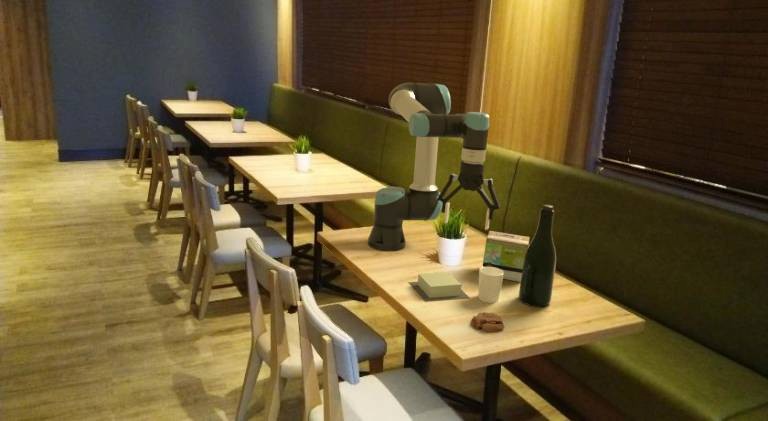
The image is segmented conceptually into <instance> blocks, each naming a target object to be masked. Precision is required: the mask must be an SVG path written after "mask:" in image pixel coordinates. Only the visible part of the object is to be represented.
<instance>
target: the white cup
mask: <svg viewBox="0 0 768 421" xmlns="http://www.w3.org/2000/svg"><path fill="white" fill-rule="evenodd" d="M503 275H504V272H503V271H502V270H501V269H499V268H495V267H483V266H482V267H480V268H479V270H478V284H477V285H478V287H477V288H478V294H477V298H478V300H480V301H482V302H484V303H489V304H490V303H491V304H493V303H497V302H499V298H500V293H501V289H502V285H503V281H504V279H503Z"/></svg>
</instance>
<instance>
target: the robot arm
mask: <svg viewBox="0 0 768 421" xmlns="http://www.w3.org/2000/svg"><path fill="white" fill-rule="evenodd" d="M451 101H452V100H451V95H450V91H449V89H448V87H447V86H446V85H444V84H441V83H440V84H438V83H428V82H427V83H425V82H424V83H423V82H422V83H421V82H405V83H401V84H399V85H397V86H395V87H394V88H393V89H392V90H391V92H390V93H389V96H388V105H389V108H390V109H391V110H392V112H394V114H396V115H399V116H402V117H403V119H404V120H406V121H407V122H408V131H409V134H410V136H412V137H416V141H415V142H416V143H415V144H416V145H415V153H414V154H415V156H414V170H413V182H412V183H411V184H410V185H409V186H408V190H407V191H406V190H405V188H404V187H401V186H386V187H382V188H380V189H378V190H377V191H376V193H375V199H374V211H373V224H372V226H373V227H372V228H371V231H370V233H369V235H368V239H367V245H368V246H369V247H370V248H372V249H375V250H379V251H387V252H390V251H391V252H393V251H400V250H403V249H404V248H405V247H406V237H405V233H404V228H403V222H404V221H425V222H426V221H435V220H436V219H438V218H439V216H440V213H441V212H442V213H444V220H443V224H447V223H448V222H449V217H450V216H449V215H450V206H451V205H450V204H451V202H449V201H450V200H451V199H452V198H453V197H454V196H456V194H457V193H458V192H460V190H462V189H463V190H464V191H471V192H475V191H476V192H477V193H478V195H480V197H481V199H482V200H483V202H484V203H485V204H486V207H488V208H487V210H486V215H485V223H484V225H485V226H484V230H485V231H487V230H489V228H490V220H493V218H494V214H495V210H499V209H500V208H501V204H500V200H499V198H498V195H497V193H496V190H495V187H494V179H493V178H489V179H488V178H484V173H485V163H484V162H486V155H487V144H488V138H489V136H488V135H489V130H490V129H489V128H490V115H489V113H485V112H481V111H480V112H479V111H477V112H476V111H469V112H466V113H456V114H450V112H451V107H452V105H451V104H452V102H451ZM439 138H446V139H447V138H449V139H462V148H461V157H460V159H461V162H460V168H459V174H458V175H457V174H455V173H454V172H452V173H451V174H450V175H449V177H448V181H447V182H446V184H445V185H444V186H443V189H442V190H441V192H440V191H439V187H438V186H437V185H436V173H437V161H438V151H439V150H438V149H439V148H438V147H439ZM457 180H458V182H459V184H458V186H457V187H455V189H453V191H451V192H450V193H449V194H448V195H447V196H446V194H447V192H448V191H449V189H450V188H451V186H452V184H453V183H454V182H456V181H457ZM483 184H485V186H487V189H488V191H489V194H490V197H491V199H490V197H489V196H488V194H487V193H486V191H485V190H484V188H483V186H482V185H483ZM445 196H446V197H445Z"/></svg>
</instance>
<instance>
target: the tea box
mask: <svg viewBox="0 0 768 421" xmlns="http://www.w3.org/2000/svg"><path fill="white" fill-rule="evenodd" d="M529 245H530V236H525V235H524V236H523V235H519V234H513V233H508V232H507V233H506V232H501V231H499V232H498V231H493V230H489V231H488V235H487V237H486V240H485V246H484V253H483V261H482V267H495V268H499V269H501V270H502V271H503V272H504V275H503V280H509V281H514V282H519V283H520V282H521V276H522V270H523V264H524V259H525V254H526V251H527V248H528V246H529Z"/></svg>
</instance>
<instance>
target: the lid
mask: <svg viewBox="0 0 768 421" xmlns="http://www.w3.org/2000/svg"><path fill="white" fill-rule="evenodd" d="M417 282H418V286H419V287H420V288H421V289H422V290H423V291H424V292H425V293H426V295H427V296H428V297H429V298H436V297H449V296H460V295H461V290H462V283H460V281H458V280H457V279H456V278H455V277H454V275H452V274H451V273H450V271H446V272H444V271H443V272H442V271H441V272H426V273H418V276H417Z"/></svg>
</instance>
